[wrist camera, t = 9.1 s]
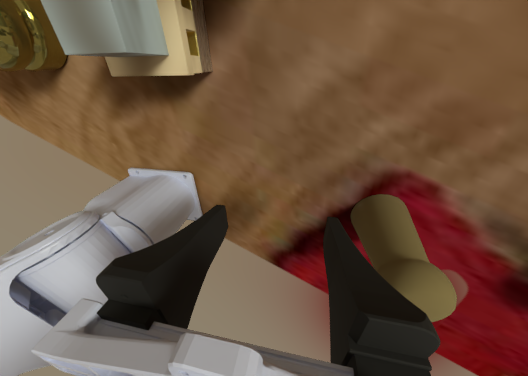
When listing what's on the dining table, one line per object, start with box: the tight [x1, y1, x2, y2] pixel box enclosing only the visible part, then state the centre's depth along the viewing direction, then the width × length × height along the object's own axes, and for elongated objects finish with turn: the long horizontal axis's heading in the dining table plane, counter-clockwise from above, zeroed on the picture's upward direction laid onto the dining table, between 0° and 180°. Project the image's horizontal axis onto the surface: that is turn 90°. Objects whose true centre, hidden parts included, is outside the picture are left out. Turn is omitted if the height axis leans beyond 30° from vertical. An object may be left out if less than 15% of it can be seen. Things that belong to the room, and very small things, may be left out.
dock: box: [181, 0, 212, 72], centre depth 17 cm, size 7×6×2 cm
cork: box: [350, 194, 457, 322], centre depth 19 cm, size 6×6×11 cm
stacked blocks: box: [41, 0, 202, 77], centre depth 13 cm, size 7×7×6 cm
